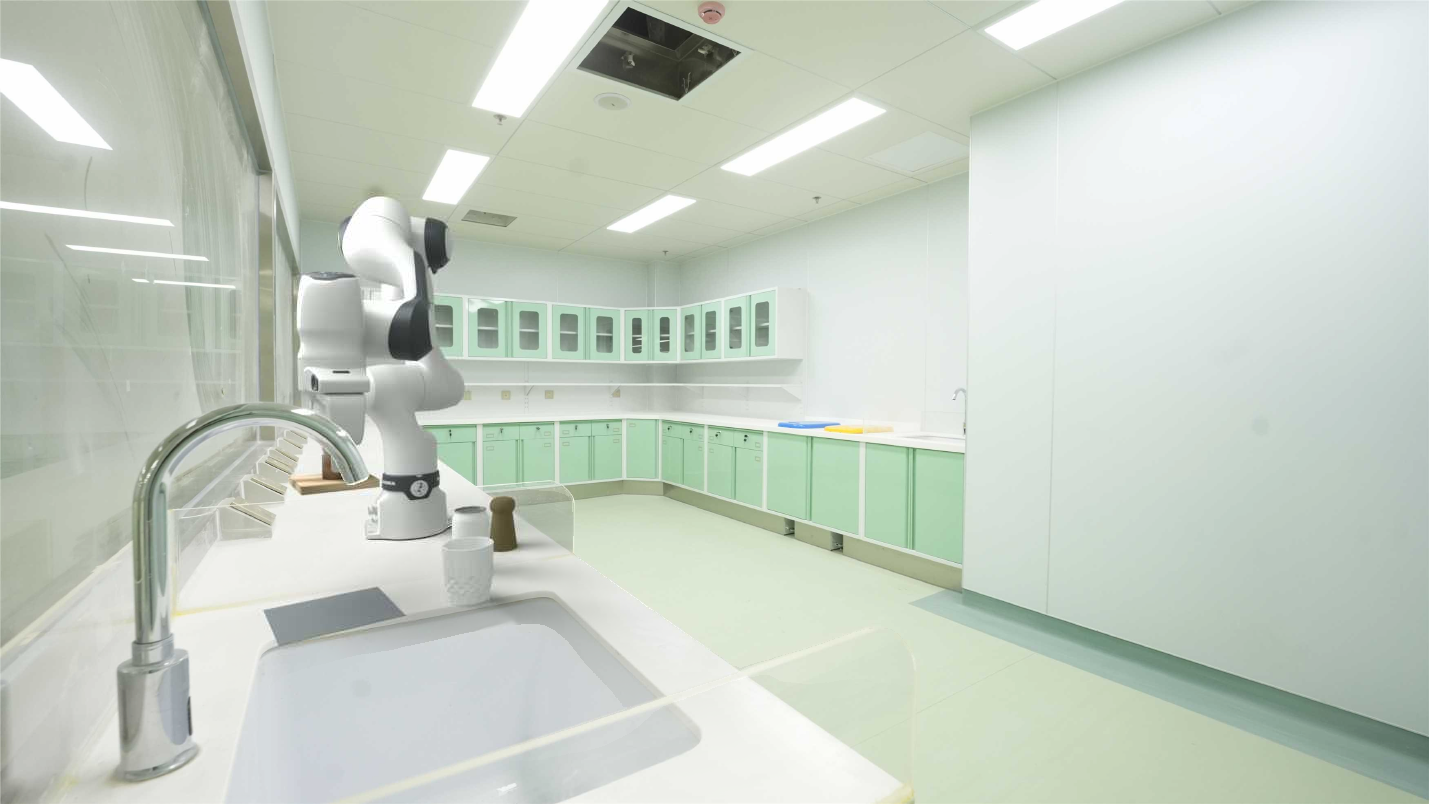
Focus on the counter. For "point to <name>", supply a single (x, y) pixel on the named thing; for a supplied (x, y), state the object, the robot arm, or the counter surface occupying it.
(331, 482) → the lid
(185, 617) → the counter surface
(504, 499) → the olive pepper grinder
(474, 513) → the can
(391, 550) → the counter surface
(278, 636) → the mat
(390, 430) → the robot arm
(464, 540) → the white cup
